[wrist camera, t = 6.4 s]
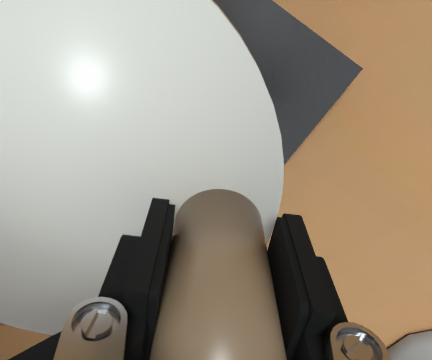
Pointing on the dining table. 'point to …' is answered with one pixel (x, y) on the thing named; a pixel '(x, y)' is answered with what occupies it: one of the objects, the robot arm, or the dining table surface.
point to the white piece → (138, 167)
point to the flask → (413, 347)
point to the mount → (291, 66)
